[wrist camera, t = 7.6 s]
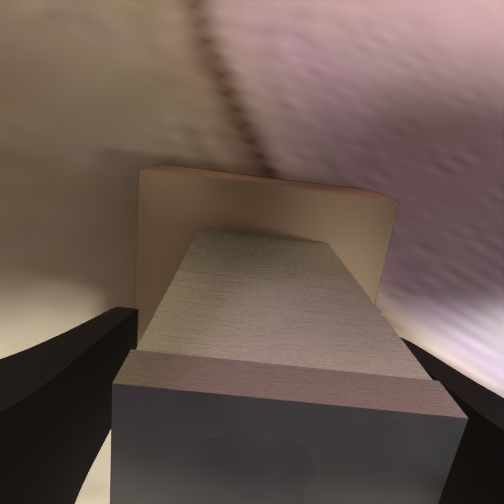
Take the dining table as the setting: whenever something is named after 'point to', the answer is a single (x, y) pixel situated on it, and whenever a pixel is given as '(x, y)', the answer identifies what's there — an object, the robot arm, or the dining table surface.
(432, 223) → the dining table surface
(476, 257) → the dining table surface
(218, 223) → the tan flat square block
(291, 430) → the tea tin
